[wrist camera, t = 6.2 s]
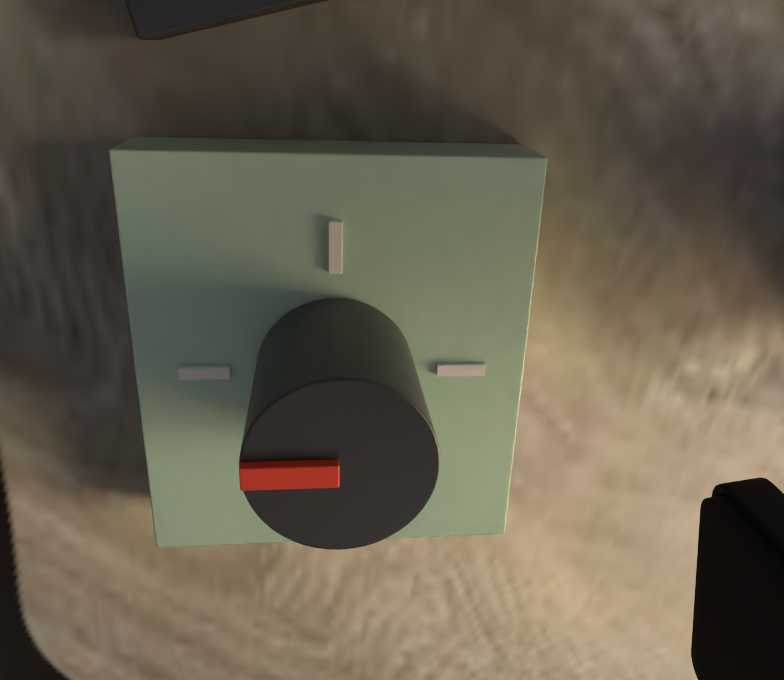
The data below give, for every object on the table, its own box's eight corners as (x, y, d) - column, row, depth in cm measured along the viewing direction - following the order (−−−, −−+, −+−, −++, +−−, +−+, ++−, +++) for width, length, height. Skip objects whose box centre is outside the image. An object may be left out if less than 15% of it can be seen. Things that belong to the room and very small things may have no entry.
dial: (415, 296, 19) (448, 383, 15) (409, 436, 21) (437, 555, 16) (252, 297, 19) (231, 387, 14) (259, 440, 21) (242, 563, 16)
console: (487, 489, 25) (505, 538, 23) (170, 499, 24) (154, 551, 22) (522, 143, 21) (550, 158, 18) (132, 136, 19) (106, 150, 17)
